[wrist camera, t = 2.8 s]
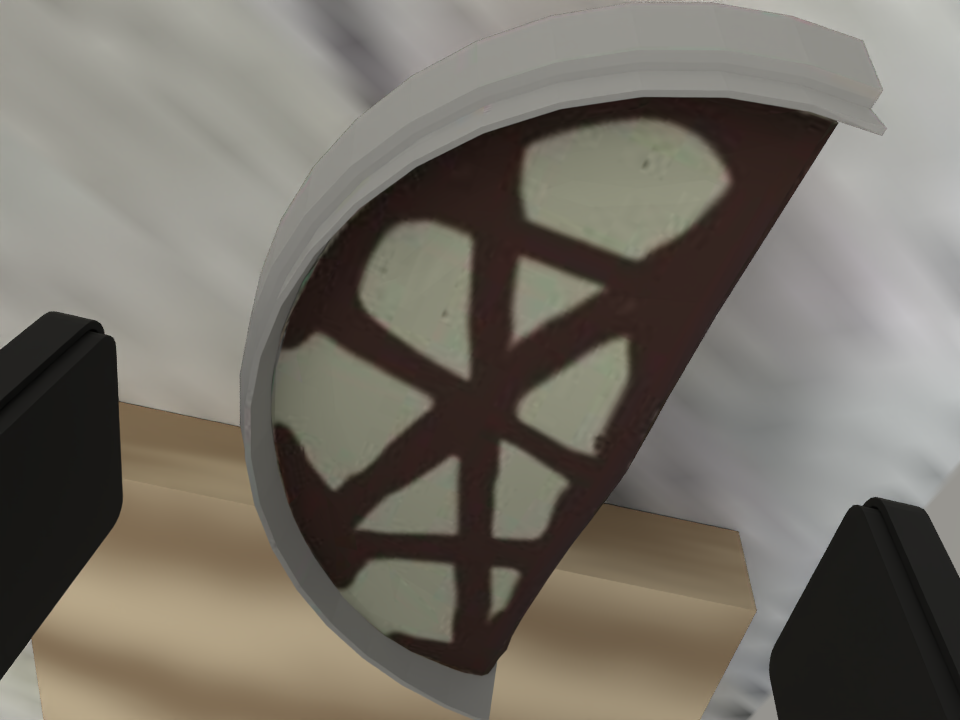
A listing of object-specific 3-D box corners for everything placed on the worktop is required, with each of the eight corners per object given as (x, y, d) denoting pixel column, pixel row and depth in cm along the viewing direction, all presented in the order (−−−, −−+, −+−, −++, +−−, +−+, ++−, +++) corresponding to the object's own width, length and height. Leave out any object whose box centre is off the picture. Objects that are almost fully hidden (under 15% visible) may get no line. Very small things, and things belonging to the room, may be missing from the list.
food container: (467, -171, 16) (345, -185, 8) (751, -39, 17) (919, 80, 9) (302, 334, 23) (136, 628, 14) (514, 416, 23) (476, 742, 15)
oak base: (63, 390, 25) (3, 453, 22) (738, 531, 25) (756, 611, 22) (96, 724, 33) (55, 798, 30) (598, 827, 33) (600, 909, 31)
